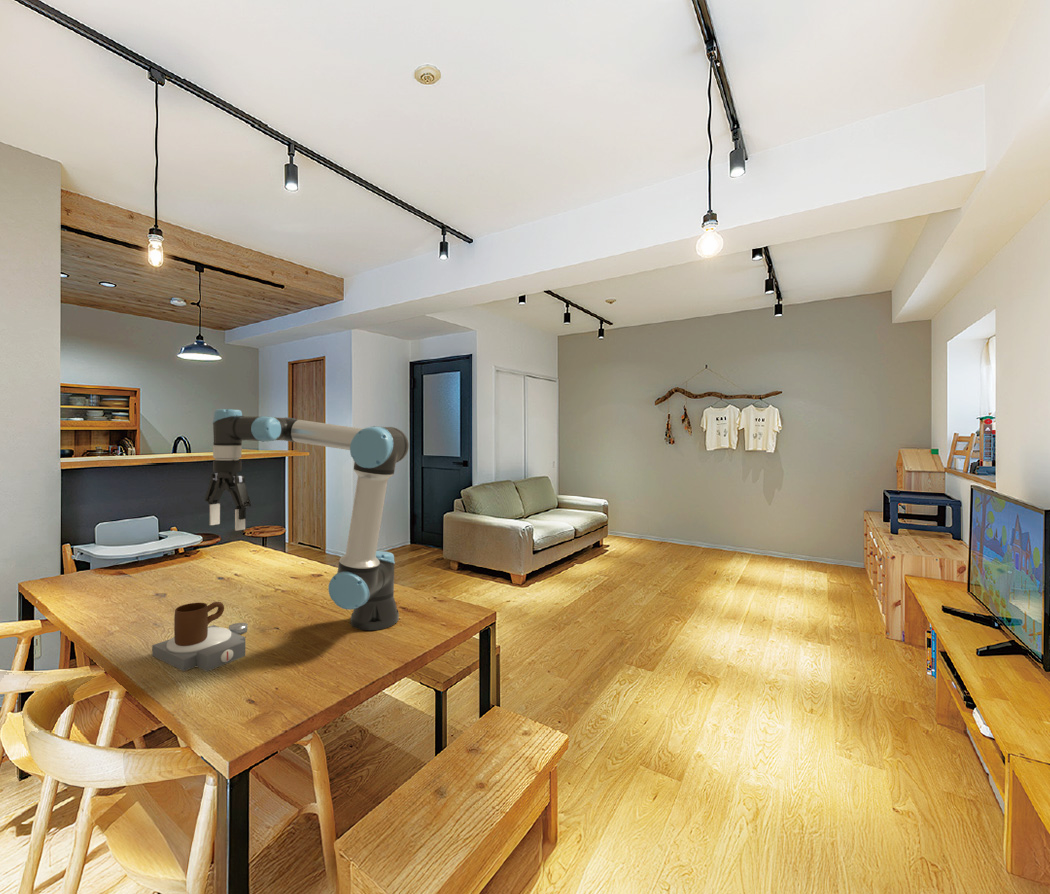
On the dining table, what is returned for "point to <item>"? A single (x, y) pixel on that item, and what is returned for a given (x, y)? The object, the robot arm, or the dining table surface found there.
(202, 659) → the scale
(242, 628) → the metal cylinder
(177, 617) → the mug
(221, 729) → the dining table surface
